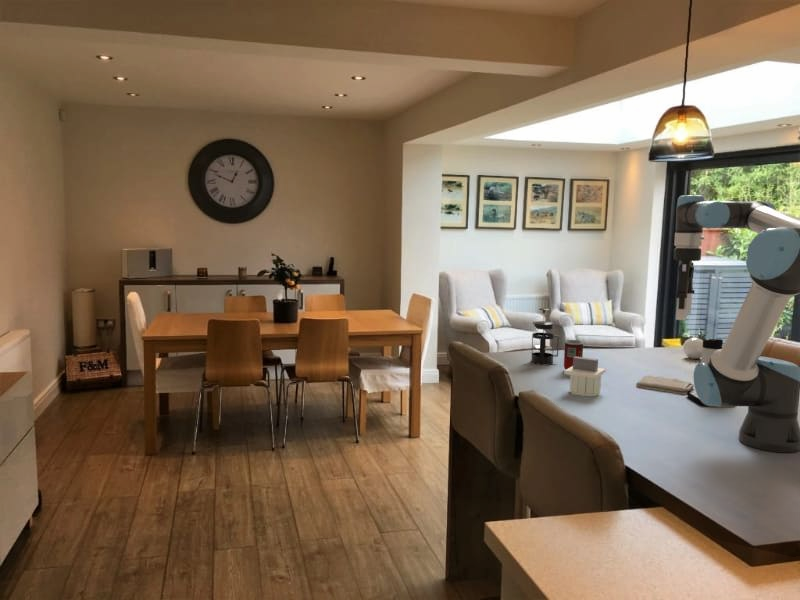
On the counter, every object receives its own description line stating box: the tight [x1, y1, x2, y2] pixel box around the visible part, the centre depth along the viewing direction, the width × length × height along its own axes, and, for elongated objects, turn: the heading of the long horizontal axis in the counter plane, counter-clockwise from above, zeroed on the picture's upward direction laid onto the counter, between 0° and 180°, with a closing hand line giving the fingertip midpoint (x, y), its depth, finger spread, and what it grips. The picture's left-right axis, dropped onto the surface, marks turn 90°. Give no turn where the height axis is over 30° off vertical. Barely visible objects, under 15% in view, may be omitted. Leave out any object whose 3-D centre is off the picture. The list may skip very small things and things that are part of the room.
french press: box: [530, 307, 560, 365], centre depth 271 cm, size 12×9×23 cm
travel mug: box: [700, 338, 724, 363], centre depth 222 cm, size 6×7×20 cm
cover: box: [563, 356, 607, 378], centre depth 224 cm, size 11×11×5 cm
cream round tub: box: [569, 375, 602, 397], centre depth 224 cm, size 10×10×7 cm
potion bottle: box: [682, 337, 704, 360], centre depth 281 cm, size 9×10×15 cm
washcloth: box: [636, 375, 695, 395], centre depth 232 cm, size 12×18×3 cm, turn 56°
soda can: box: [563, 339, 584, 370], centre depth 255 cm, size 7×7×12 cm
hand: (683, 317), depth 196 cm, fingers open, 13 cm apart
